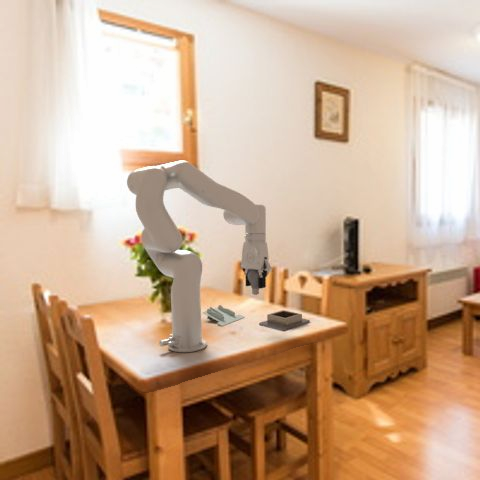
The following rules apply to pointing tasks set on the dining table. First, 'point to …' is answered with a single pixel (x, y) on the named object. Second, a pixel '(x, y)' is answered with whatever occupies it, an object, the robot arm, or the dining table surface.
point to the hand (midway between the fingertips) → (255, 286)
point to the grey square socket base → (284, 320)
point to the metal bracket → (222, 315)
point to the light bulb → (254, 280)
